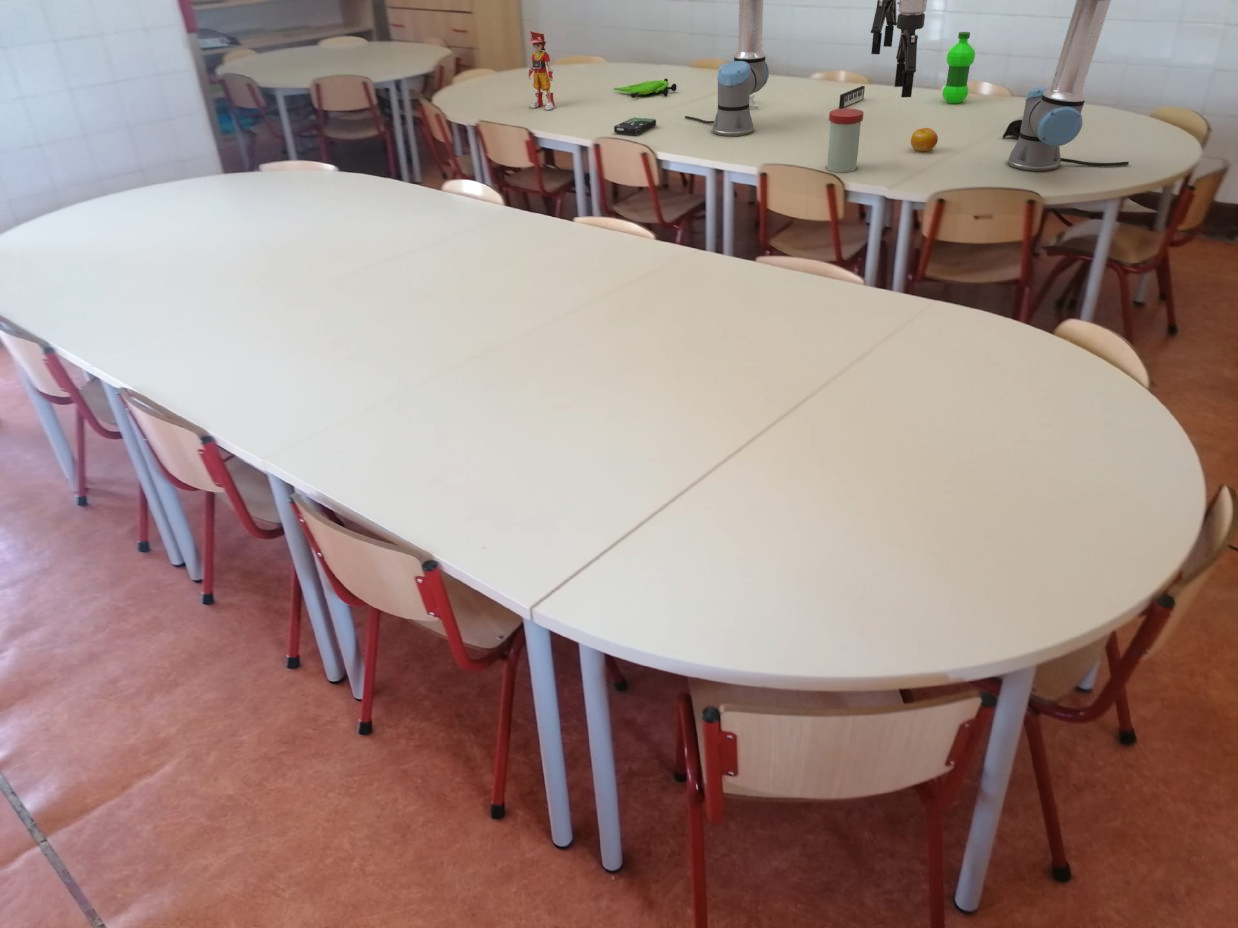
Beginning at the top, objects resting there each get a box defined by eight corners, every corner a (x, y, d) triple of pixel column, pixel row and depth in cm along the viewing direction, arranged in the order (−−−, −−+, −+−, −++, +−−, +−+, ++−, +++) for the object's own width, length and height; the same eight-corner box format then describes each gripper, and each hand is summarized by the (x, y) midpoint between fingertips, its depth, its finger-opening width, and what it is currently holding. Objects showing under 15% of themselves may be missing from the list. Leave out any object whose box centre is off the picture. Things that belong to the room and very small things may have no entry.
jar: (825, 164, 298) (829, 111, 288) (853, 163, 297) (858, 110, 287) (829, 173, 290) (833, 118, 280) (858, 172, 289) (864, 117, 280)
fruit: (905, 142, 301) (920, 120, 298) (906, 145, 309) (921, 124, 306) (926, 156, 300) (941, 134, 296) (927, 158, 307) (942, 137, 304)
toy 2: (686, 85, 398) (631, 84, 414) (685, 72, 395) (629, 72, 411) (651, 104, 381) (596, 103, 397) (650, 92, 378) (594, 91, 394)
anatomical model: (725, 81, 368) (749, 74, 367) (729, 106, 374) (753, 100, 373) (732, 89, 356) (756, 82, 355) (736, 115, 362) (760, 109, 361)
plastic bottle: (973, 101, 354) (984, 32, 339) (955, 106, 349) (966, 36, 335) (952, 97, 361) (962, 29, 346) (934, 102, 356) (944, 33, 342)
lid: (826, 116, 289) (827, 109, 288) (859, 115, 289) (860, 108, 287) (831, 124, 281) (832, 117, 280) (865, 123, 280) (866, 116, 279)
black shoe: (1032, 109, 328) (1056, 91, 320) (1046, 130, 329) (1070, 113, 320) (998, 131, 311) (1023, 113, 303) (1012, 153, 311) (1038, 136, 303)
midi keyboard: (841, 108, 355) (842, 95, 352) (838, 108, 356) (840, 94, 353) (863, 99, 366) (865, 86, 363) (860, 98, 366) (862, 86, 364)
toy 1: (525, 109, 381) (517, 32, 364) (534, 104, 388) (527, 28, 371) (550, 110, 377) (543, 32, 360) (559, 105, 384) (553, 28, 367)
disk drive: (637, 136, 338) (656, 126, 348) (636, 129, 336) (656, 118, 346) (613, 134, 342) (633, 123, 352) (613, 126, 341) (633, 116, 351)
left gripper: (889, -14, 286) (881, 58, 298) (910, -24, 303) (902, 44, 315) (865, -14, 289) (859, 57, 301) (888, -25, 306) (881, 43, 318)
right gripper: (891, 7, 266) (884, 83, 278) (904, 21, 245) (895, 102, 257) (917, 5, 265) (908, 82, 277) (933, 19, 244) (922, 101, 257)
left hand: (881, 50), depth 308 cm, fingers open, 13 cm apart
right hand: (902, 92), depth 267 cm, fingers open, 13 cm apart
